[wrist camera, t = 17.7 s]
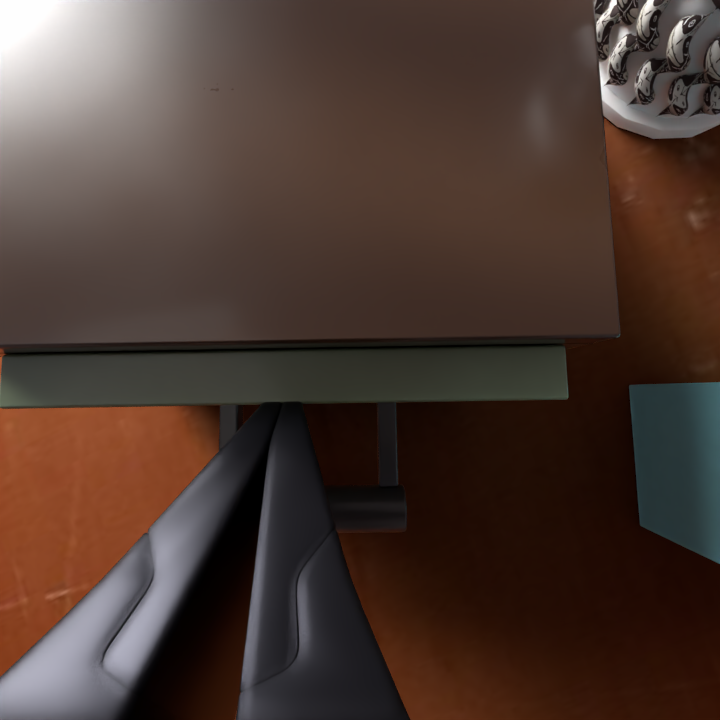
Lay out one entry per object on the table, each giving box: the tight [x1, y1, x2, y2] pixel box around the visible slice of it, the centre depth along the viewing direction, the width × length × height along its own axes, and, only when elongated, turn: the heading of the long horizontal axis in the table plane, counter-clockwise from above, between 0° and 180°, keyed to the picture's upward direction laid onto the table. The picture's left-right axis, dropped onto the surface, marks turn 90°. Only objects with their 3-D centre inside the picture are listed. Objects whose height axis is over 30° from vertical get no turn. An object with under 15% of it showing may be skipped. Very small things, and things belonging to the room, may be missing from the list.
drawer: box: [0, 345, 569, 533], centre depth 11 cm, size 17×12×6 cm
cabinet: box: [0, 0, 621, 357], centre depth 12 cm, size 14×14×8 cm
